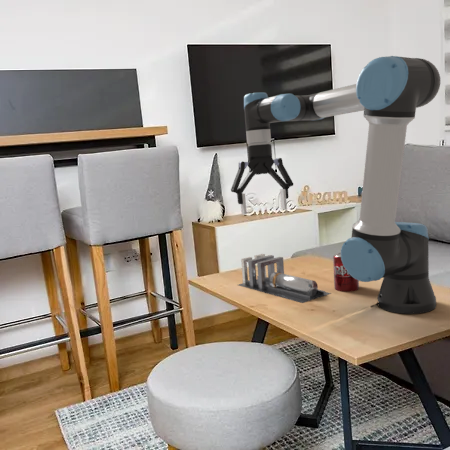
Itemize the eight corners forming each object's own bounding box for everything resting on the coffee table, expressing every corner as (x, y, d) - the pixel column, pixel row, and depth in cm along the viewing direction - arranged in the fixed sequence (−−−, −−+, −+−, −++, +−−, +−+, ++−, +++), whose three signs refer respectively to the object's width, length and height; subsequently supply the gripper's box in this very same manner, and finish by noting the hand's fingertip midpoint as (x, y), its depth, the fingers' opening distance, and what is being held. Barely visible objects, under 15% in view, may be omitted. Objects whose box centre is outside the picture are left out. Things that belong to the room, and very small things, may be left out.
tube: (317, 295, 152) (317, 279, 151) (306, 298, 149) (306, 281, 148) (280, 285, 164) (280, 270, 164) (269, 288, 161) (269, 273, 161)
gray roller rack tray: (331, 298, 152) (329, 264, 151) (302, 308, 145) (300, 273, 144) (264, 281, 176) (262, 252, 175) (237, 289, 169) (235, 259, 168)
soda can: (359, 296, 152) (358, 256, 150) (334, 296, 154) (333, 257, 152) (358, 289, 159) (357, 251, 157) (334, 289, 161) (333, 252, 159)
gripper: (290, 141, 166) (295, 206, 169) (217, 147, 160) (223, 215, 162) (300, 140, 159) (305, 208, 162) (224, 146, 152) (230, 217, 155)
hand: (264, 211), depth 162 cm, fingers open, 13 cm apart
